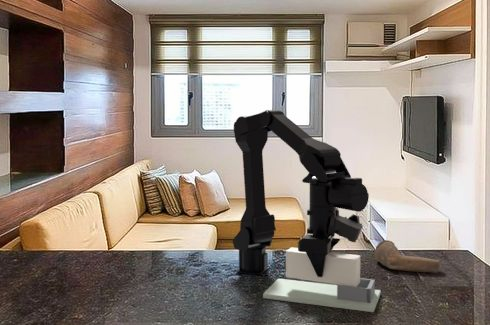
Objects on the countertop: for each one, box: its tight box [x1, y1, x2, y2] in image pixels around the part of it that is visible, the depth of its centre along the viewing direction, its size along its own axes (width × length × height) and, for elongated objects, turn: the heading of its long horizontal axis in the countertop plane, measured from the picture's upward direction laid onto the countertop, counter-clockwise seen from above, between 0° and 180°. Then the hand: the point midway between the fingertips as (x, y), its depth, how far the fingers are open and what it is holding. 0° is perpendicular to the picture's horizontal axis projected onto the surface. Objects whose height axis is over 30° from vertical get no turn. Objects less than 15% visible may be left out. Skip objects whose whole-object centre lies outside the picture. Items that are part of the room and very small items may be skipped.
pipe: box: [373, 239, 442, 274], centre depth 139 cm, size 6×17×10 cm
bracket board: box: [262, 277, 381, 313], centre depth 119 cm, size 24×11×4 cm, turn 69°
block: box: [285, 246, 361, 287], centre depth 118 cm, size 16×4×6 cm, turn 64°
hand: (322, 274), depth 118 cm, fingers closed on block, 4 cm apart
